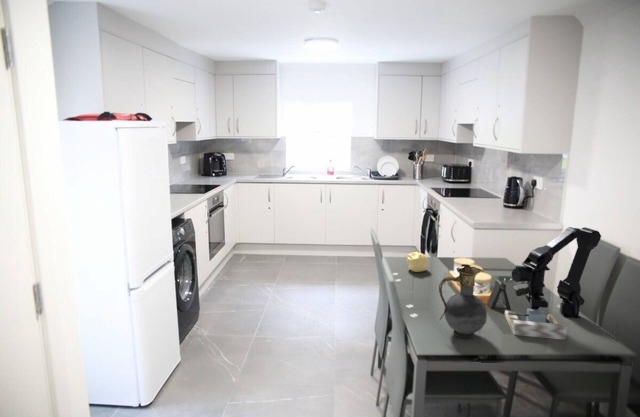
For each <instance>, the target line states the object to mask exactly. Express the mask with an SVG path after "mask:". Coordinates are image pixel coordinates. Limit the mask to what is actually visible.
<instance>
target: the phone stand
mask: <svg viewBox="0 0 640 417" xmlns="http://www.w3.org/2000/svg"><path fill="white" fill-rule="evenodd" d="M506 288H507V285H506V284H505V283H504V282H503V281H502V280H501V279H500V278H499V279H496V280H494V286H493V289H492V290H491V293H490V295H489V297H490V298H489V297H488V299H489V300H488V299H487V301H488V302H487V301H486V304H487V305H488V306H489V308H490V309H494V310H495V309H496V310H498V309H499V310H500V309H501V310H511V309H512V307H511V304H510V301H509V297H508V295H507V291H506ZM499 297H500V298H501V302H498V300H499Z"/></svg>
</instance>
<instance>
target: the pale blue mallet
mask: <svg viewBox="0 0 640 417" xmlns="http://www.w3.org/2000/svg"><path fill="white" fill-rule="evenodd" d="M508 315H517V317H518V316H522V317H526V318H525V321H531V322H542V323H547V315H546V313H545V312H544V310H543V309H530V308H527V309H526V313H520V312H519V313H517V312H515V313H509V312H508Z"/></svg>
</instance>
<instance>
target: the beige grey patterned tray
mask: <svg viewBox="0 0 640 417" xmlns="http://www.w3.org/2000/svg"><path fill="white" fill-rule="evenodd" d="M508 312H509V313H516V312H515V311H514V310H509V309H505V310H504V316H505V318H506V321H507V323H508V325H509V327H510V329H511V330H510V331H511V333H513V335H515V336H524V337H534V338H543V339H553V340H563V341H565V340H567V332H568V327H567V326H566V324H562V323H559V322H558V321H557V320H556V319H555V317H554V316H553V315H552V314H547V316H546V320H548V322H546V323H542V322H531V321H527V320H520V319H519V317H518V315H508Z"/></svg>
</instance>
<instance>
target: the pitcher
mask: <svg viewBox="0 0 640 417" xmlns="http://www.w3.org/2000/svg"><path fill="white" fill-rule="evenodd" d="M460 266H461V267H462V268H460V267H457V268H456V267H455V269H456V271H457V273H458V275H457V276H456V277H455V276H450V275H449V276H446V277H443V278H442V279H441V280H440V282H439V285H438V293H439V296H440V298H441V301H442V303H443V306H444V311H443V313H442V314H441V315H440V318H439V321H441V319H443V317H444V318H445V320H446V323H447V325H448V326H449V327H450V328H451V329H452V330H453V331H452V332H453V335H454V336H456V338H457V337H458V338H460V339H472V338H473V337H474V336H475V333H477V332H479V331H480V330H482V328H483V327H484V326H485V325H486V321H487V309H486V306H485V303H484V302H483V301H482V300H481V298H479V297H478V296H477V295H475V294H474V288H475V286H476V285H475V284H476V283H475V281H476V280H475V278H476V276H477V275H478V274H480V272H483V273H484V270H482V269H481V268H478V267H475V266H473V265H471V264H467V263H463V264H461V265H460ZM449 281H451V282H456V283H459V286H460V287H459V288H460V290H459V292H458V293H455V294H452V295H451V296H450V297H449V298H448V299H447V301H446V300H445V298H444V296H443V290H442V288H443V285H444V284H445V283H446V282H449Z"/></svg>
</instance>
